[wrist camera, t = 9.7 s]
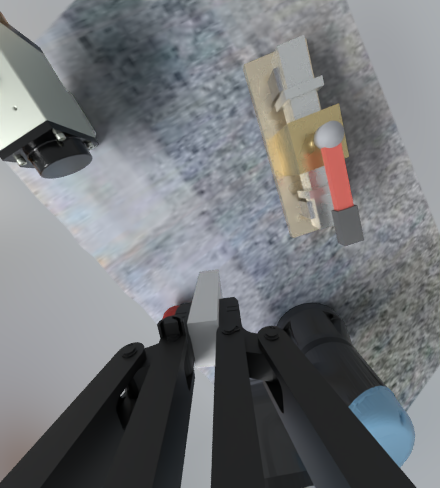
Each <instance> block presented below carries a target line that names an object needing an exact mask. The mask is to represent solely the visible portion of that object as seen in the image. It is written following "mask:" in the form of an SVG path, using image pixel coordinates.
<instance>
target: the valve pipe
mask: <svg viewBox="0 0 440 488" xmlns="http://www.w3.org/2000/svg"><path fill="white" fill-rule="evenodd" d="M243 71H244V74H245V78H246V81H247V85H248V88H249V92H250V95H251V99H252V102H253V106H254V109H255V113H256V117H257V120H258V124H259V127H260V131H261V134H262V138H263V141H264V145H265V148H266V152H267V155H268V159H269V162H270V166H271V170H272V173H273V177H274V180H275V184H276V187H277V191H278V194H279V198H280V201H281V205H282V208H283V212H284V215H285V219H286V223H287V226H288V230H289V233H290V236H291V237H292V238H295V237H298V236H301V235H304V234H307V233H310V232H313V231H316V230H318V229H321V230H322V229H325V228H328V227H331V226H334V222H333V217H332V213H331V210H334V207H333V202H332V198H331V193H330V189H329V184H328V180H327V175H326V171H325V166H324V162H323V157H322V152H321V149H319V148H318V147H317V146H316V145H315V142H314V135H315V132H316V130H317V129H318V128H319V127H320V126H322V125H324V124H325V123H327V122H329V121H338V122H339V123H341V124H342V126H343V122H342V117H341V111H340V106H339V103H338V104H336V105H333V106H330V107H328V108H325V109H323V110H321V107H320V102H319V97H318V93H317V91H318V90H319V89H321V88H322V87H323V86H324V81H323V76H322V75H321V76H319V77H316V78H314V74H313V69H312V64H311V60H310V55H309V50H308V45H307V41H306V38H305V37H304V35H302V36H299V37H297V38H295V39H292V40H290V41H288V42H285V43H283V44H281V45H278V46H277V48H276V50H275V52H272V53H270V54H268V55H265V56H263V57H261V58H258V59H256V60H254V61H251V62H249V63H247V64H244V68H243ZM343 128H344V127H343ZM341 144H342V149H343V154H344V158H347V157H349V153H348V148H347V143H346V138H345V132H344V137H343V140H342V141H341Z"/></svg>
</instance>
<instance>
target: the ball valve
mask: <svg viewBox="0 0 440 488" xmlns="http://www.w3.org/2000/svg"><path fill="white" fill-rule="evenodd" d="M95 137H96V132H95V131H94V129H93V127H92V126H91V124H90V123H89V121H88V119H87V118H86V116H85V114H84V113H83V111H82V109H81V108H80V106H79V105H78V103H77V101H76V100H75V98H74V96H73V95H72V94H71V93H70V92H67V90H66V89H65V87H64V86H63V84H62V83H61V81H60V80H59V78H58V76H57V75H56V73H55V71H54V70H53V68H52V67H51V65H50V63H49V62H48V60H47V58H46V57H45V55H44V54H43V52H42V50H41V49H40V47H38V46H37V45H36V44H34V43H33V42H32V41H30V40H29V39H28V38H26V37H25V36H24V35H23V34H21V33H20V32H18V31H17V30H16V29H15V28H13V27H12V26H10V25H9V24H8V22H7V21H6V19H5V18H4V16H3V14H2V13H1V12H0V158H1V159H2V160H3V161H9V162H17V163H18V165H19V166H20V167H26V168H35V169H36V170H37V172H38V173H39V174H40V176H41V177H43V178H59V177H64V176H67V175H70V174H73V173H75V172H77V171H79V170H81V169H83V168H85V167H86V166H87V165H88V164H90V162H91V161H92V155H91V154H90V152H89V150H92V149H94V148H95V147H96V146H97V145H98V144H99V143H98V141H97V139H96V138H95Z"/></svg>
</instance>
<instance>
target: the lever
mask: <svg viewBox="0 0 440 488" xmlns="http://www.w3.org/2000/svg"><path fill="white" fill-rule="evenodd" d="M343 137H344V128H343V126H342V124H341V123H339V122H338V121H329V122H327V123H325V124H324V125H322V126H320V127H319V128H318V129H317V130H316V132H315V135H314V142H315V145H316V146H317V147H318V148H319V149H321V152H322V157H323V162H324V166H325V171H326V175H327V180H328V184H329V189H330V193H331V198H332V202H333V207H334V210H331V213H332V217H333V222H334V226H335V230H336V235H337V239H338V243H340V244H342V245H344V246H348V245H351V244H354V243H357V242H360V241H363V240H364V237H363V232H362V227H361V222H360V217H359V211H358V206H357V205H353V200H352V195H351V190H350V185H349V179H348V174H347V169H346V164H345V159H344V154H343V149H342V144H341V141H342V140H343Z"/></svg>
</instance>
